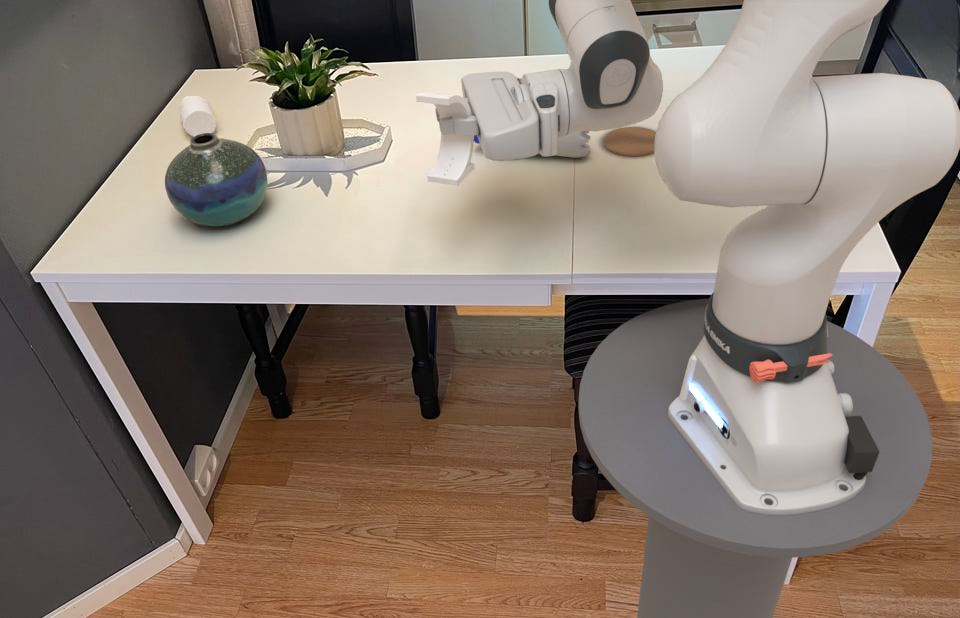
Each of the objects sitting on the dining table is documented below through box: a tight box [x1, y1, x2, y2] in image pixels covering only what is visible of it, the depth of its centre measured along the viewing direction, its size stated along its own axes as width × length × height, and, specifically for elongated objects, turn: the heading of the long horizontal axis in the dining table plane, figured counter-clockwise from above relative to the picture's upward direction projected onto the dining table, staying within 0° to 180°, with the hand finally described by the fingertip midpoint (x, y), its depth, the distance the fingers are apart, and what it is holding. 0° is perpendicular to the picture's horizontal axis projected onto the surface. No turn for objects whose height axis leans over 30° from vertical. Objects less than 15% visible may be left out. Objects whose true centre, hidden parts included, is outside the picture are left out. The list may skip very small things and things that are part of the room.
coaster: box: [603, 126, 656, 157], centre depth 136 cm, size 10×10×1 cm
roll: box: [178, 95, 217, 138], centre depth 151 cm, size 6×12×6 cm, turn 23°
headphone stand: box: [415, 91, 475, 187], centre depth 103 cm, size 5×6×12 cm
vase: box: [164, 132, 269, 227], centre depth 123 cm, size 15×15×13 cm
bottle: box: [474, 131, 591, 158], centre depth 133 cm, size 7×7×20 cm
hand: (438, 120), depth 105 cm, fingers closed on headphone stand, 2 cm apart
